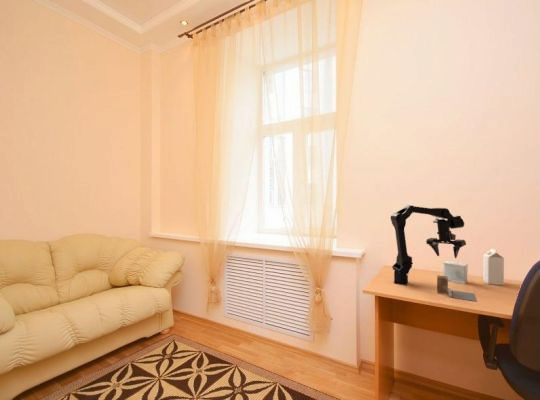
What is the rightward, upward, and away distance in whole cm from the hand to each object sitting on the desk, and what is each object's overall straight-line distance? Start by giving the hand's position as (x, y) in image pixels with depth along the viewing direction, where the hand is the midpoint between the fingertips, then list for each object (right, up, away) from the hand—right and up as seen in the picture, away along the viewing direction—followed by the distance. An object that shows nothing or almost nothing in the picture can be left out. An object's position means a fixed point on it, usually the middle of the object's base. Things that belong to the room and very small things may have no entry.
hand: (446, 257), depth 158 cm
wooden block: (-13, -15, -17) cm, 26 cm away
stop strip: (-10, -15, -18) cm, 26 cm away
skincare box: (+6, -15, +2) cm, 16 cm away
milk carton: (+25, -14, -2) cm, 29 cm away
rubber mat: (-5, -15, -21) cm, 26 cm away
